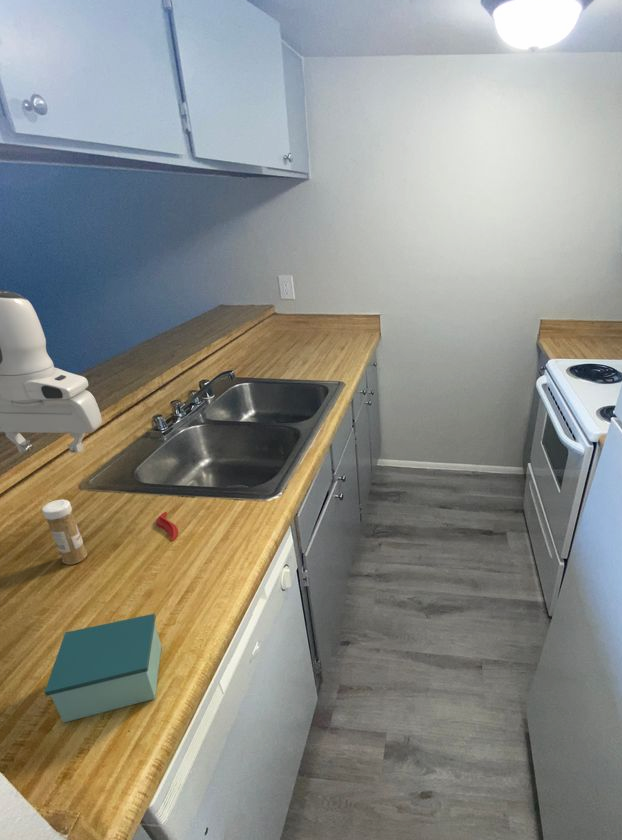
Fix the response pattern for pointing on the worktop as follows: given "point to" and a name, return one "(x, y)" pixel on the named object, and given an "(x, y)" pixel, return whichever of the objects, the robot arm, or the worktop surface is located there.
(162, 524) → the cayenne pepper
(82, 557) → the sprinkles bottle
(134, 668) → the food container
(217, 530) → the worktop surface
